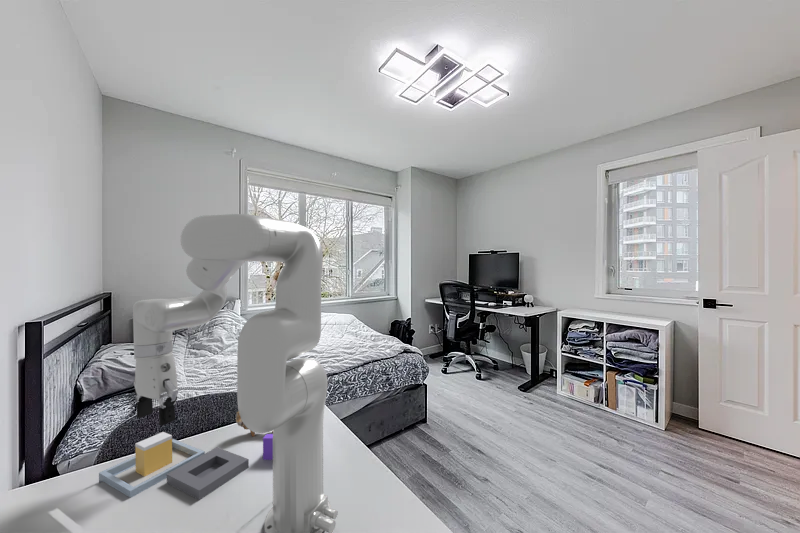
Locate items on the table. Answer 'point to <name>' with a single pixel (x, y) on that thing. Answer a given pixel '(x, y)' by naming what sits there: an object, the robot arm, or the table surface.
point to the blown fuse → (153, 453)
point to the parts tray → (131, 491)
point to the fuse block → (207, 472)
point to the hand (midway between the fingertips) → (155, 419)
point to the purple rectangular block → (268, 447)
